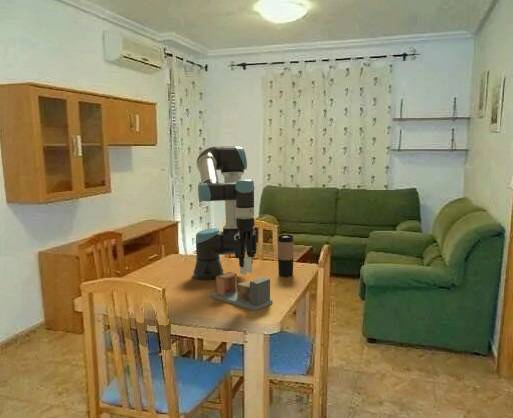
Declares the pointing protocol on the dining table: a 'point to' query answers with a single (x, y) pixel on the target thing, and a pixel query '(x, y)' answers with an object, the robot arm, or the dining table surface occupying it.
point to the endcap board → (257, 295)
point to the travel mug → (285, 255)
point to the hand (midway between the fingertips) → (246, 272)
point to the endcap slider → (226, 283)
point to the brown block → (243, 291)
